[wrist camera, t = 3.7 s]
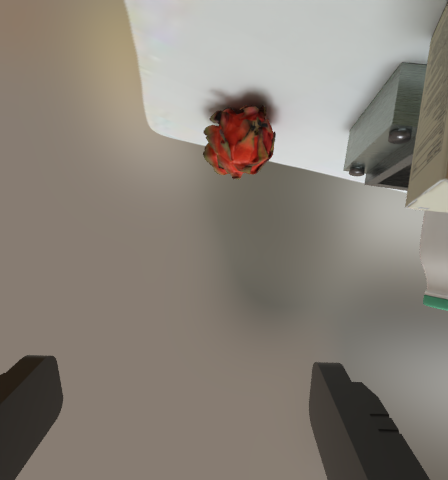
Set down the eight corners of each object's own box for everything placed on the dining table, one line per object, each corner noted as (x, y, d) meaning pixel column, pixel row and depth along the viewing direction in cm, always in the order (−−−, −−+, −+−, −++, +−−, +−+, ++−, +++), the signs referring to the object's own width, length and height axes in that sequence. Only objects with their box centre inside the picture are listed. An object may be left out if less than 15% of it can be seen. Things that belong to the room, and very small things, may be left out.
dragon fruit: (223, 120, 41) (262, 61, 30) (261, 165, 42) (312, 124, 31) (183, 154, 38) (209, 103, 27) (225, 200, 39) (266, 170, 28)
